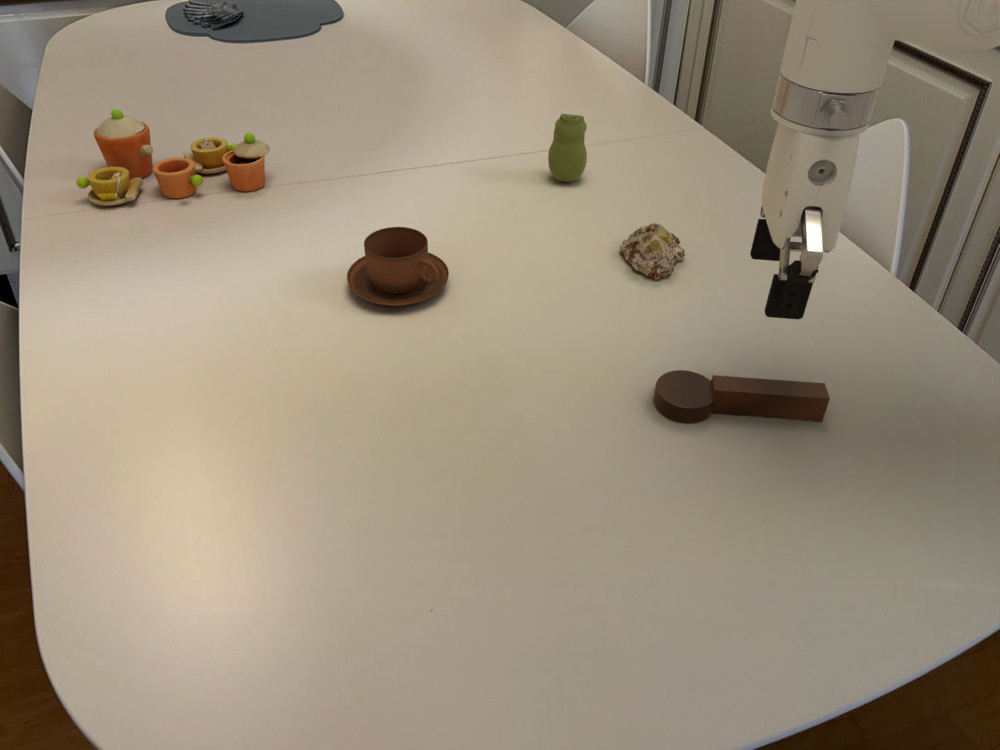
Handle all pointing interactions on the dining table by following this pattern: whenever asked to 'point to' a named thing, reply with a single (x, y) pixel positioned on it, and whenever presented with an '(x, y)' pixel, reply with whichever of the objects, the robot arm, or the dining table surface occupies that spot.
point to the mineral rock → (652, 251)
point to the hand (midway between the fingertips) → (774, 286)
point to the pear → (568, 148)
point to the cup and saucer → (397, 268)
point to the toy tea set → (167, 163)
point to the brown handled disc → (737, 397)
